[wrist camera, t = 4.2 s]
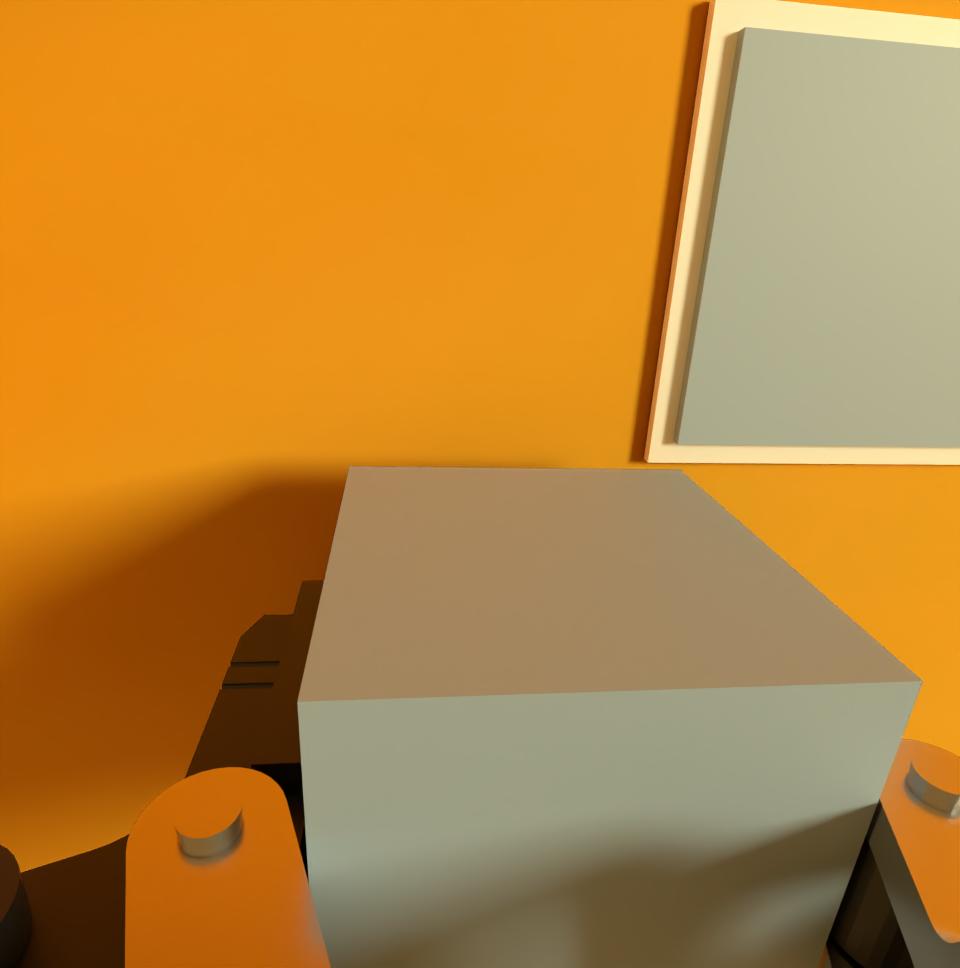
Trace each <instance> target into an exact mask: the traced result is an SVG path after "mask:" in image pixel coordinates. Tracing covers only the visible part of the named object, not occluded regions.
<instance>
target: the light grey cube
mask: <svg viewBox="0 0 960 968" xmlns="http://www.w3.org/2000/svg"><path fill="white" fill-rule="evenodd" d="M922 682H923V681H922V680H921V679H920V678H919V677H918V676H916V675H915V674H914V673H913V672H912V671H911V670H910V669H908V668H907V667H906V666H905V665H904V664H903V663H902V662H900V661H899V660H898V659H897V658H896V657H895V656H893V655H892V654H891V653H890V652H889V651H888V650H887V649H885V648H884V647H883V646H882V645H881V644H880V643H879V642H877V641H876V640H875V639H874V638H873V637H872V636H871V635H869V634H868V633H867V632H866V631H865V630H864V629H862V628H861V627H860V626H859V625H858V624H857V623H856V622H854V621H853V620H852V619H851V618H850V617H849V616H848V615H846V614H845V613H844V612H843V611H842V610H841V609H839V608H838V607H837V606H836V605H835V604H834V603H833V602H831V601H830V600H829V599H828V598H827V597H826V596H825V595H823V594H822V593H821V592H820V591H819V590H818V589H817V588H815V587H814V586H813V585H812V584H811V583H810V582H808V581H807V580H806V579H805V578H804V577H803V576H802V575H800V574H799V573H798V572H797V571H796V570H795V569H794V568H792V567H791V566H790V565H789V564H788V563H787V562H786V561H784V560H783V559H782V558H781V557H780V556H779V555H777V554H776V553H775V552H774V551H773V550H772V549H771V548H769V547H768V546H767V545H766V544H765V543H764V542H763V541H761V540H760V539H759V538H758V537H757V536H756V535H754V534H753V533H752V532H751V531H750V530H749V529H748V528H746V527H745V526H744V525H743V524H742V523H741V522H740V521H738V520H737V519H736V518H735V517H734V516H733V515H732V514H730V513H729V512H728V511H727V510H726V509H725V508H723V507H722V506H721V505H720V504H719V503H718V502H717V501H715V500H714V499H713V498H712V497H711V496H710V495H709V494H707V493H706V492H705V491H704V490H703V489H702V488H701V487H699V486H698V485H697V484H696V483H695V482H694V481H692V480H691V479H690V478H689V477H688V476H687V475H686V474H684V473H683V472H682V471H681V470H661V469H570V468H480V467H389V466H349V471H348V475H347V480H346V484H345V489H344V493H343V498H342V502H341V507H340V511H339V516H338V520H337V525H336V530H335V534H334V539H333V543H332V548H331V552H330V557H329V561H328V566H327V570H326V575H325V579H324V584H323V588H322V593H321V597H320V602H319V606H318V611H317V615H316V620H315V624H314V629H313V634H312V638H311V643H310V647H309V652H308V656H307V661H306V665H305V670H304V674H303V679H302V683H301V688H300V692H299V697H298V701H297V704H298V719H299V735H300V751H301V767H302V783H303V799H304V814H305V830H306V846H307V862H308V878H309V887H310V890H311V894H312V898H313V902H314V906H315V909H316V913H317V917H318V921H319V924H320V928H321V932H322V936H323V940H324V943H325V947H326V951H327V955H328V959H329V962H330V966H331V968H817V966H818V963H819V960H820V958H821V955H822V952H823V950H824V947H825V944H826V941H827V939H828V936H829V933H830V931H831V928H832V925H833V923H834V920H835V917H836V914H837V912H838V909H839V906H840V904H841V901H842V898H843V896H844V893H845V890H846V887H847V885H848V882H849V879H850V877H851V874H852V871H853V869H854V866H855V863H856V860H857V858H858V855H859V852H860V850H861V847H862V844H863V842H864V839H865V836H866V834H867V831H868V828H869V825H870V823H871V820H872V817H873V815H874V812H875V809H876V807H877V804H878V801H879V798H880V796H881V793H882V790H883V788H884V785H885V782H886V780H887V777H888V774H889V771H890V769H891V766H892V763H893V761H894V758H895V755H896V753H897V750H898V747H899V744H900V742H901V739H902V736H903V734H904V731H905V728H906V726H907V723H908V720H909V718H910V715H911V712H912V709H913V707H914V704H915V701H916V699H917V696H918V693H919V691H920V688H921V685H922Z"/></svg>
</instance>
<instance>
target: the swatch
mask: <svg viewBox="0 0 960 968" xmlns="http://www.w3.org/2000/svg"><path fill="white" fill-rule="evenodd" d="M644 460H645V461H647V462H648V463H783V464H936V465H960V20H958V19H949V18H939V17H930V16H920V15H911V14H901V13H891V12H882V11H872V10H863V9H853V8H844V7H834V6H825V5H815V4H806V3H796V2H787V1H777V0H710V3H709V10H708V17H707V24H706V31H705V38H704V44H703V51H702V58H701V65H700V72H699V79H698V86H697V93H696V100H695V107H694V114H693V121H692V128H691V135H690V142H689V149H688V156H687V162H686V169H685V176H684V183H683V190H682V197H681V204H680V211H679V218H678V225H677V232H676V239H675V246H674V253H673V260H672V267H671V274H670V280H669V287H668V294H667V301H666V308H665V315H664V322H663V329H662V336H661V343H660V350H659V357H658V364H657V371H656V378H655V385H654V392H653V398H652V405H651V412H650V419H649V426H648V433H647V440H646V447H645V454H644Z"/></svg>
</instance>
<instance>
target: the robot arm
mask: <svg viewBox="0 0 960 968" xmlns="http://www.w3.org/2000/svg"><path fill="white" fill-rule="evenodd" d="M323 584H324V580H320V581H303V582H302V585H301V589H300V592H299V596H298V599H297V603H296V606H295V610H294V613H293V615H264V616H263V617H262V618H261V619H260V620H258V621H257V622H256V623H255V624H254V625H253V626H252V627H251V628H250V629H249V630H248V631H246V632H245V633H244V634H243V635H242V636H241V638H240V640H239V643H238V645H237V648H236V650H235V653H234V655H233V658H232V660H231V667H229V668H228V670H227V673H226V676H225V678H224V681H223V683H222V690H220V691H219V693H218V696H217V698H216V701H215V703H214V706H213V708H212V711H211V713H210V716H209V719H208V721H207V724H206V726H205V729H204V731H203V734H202V736H201V739H200V741H199V744H198V746H197V749H196V751H195V754H194V757H193V759H192V762H191V764H190V767H189V769H188V772H187V774H186V777H185V779H183V780H181V781H179V782H177V783H175V784H174V785H172V786H171V787H169V788H167V789H166V790H165V791H163V792H162V793H161V794H160V795H158V796H157V797H156V798H155V799H154V800H153V801H152V802H151V803H150V804H149V805H148V806H147V807H146V808H145V809H144V810H143V812H142V813H141V814H140V815H139V817H138V818H137V820H136V822H135V823H134V825H133V827H132V829H131V832H130V834H128V835H127V836H125V837H123V838H121V839H119V840H117V841H115V842H113V843H111V844H108V845H106V846H103V847H100V848H97V849H95V850H92V851H89V852H85V853H82V854H79V855H76V856H73V857H70V858H66V859H63V860H60V861H57V862H54V863H51V864H47V865H44V866H41V867H38V868H35V869H31V870H28V871H25V872H22V873H21V872H20V869H19V866H18V863H17V861H16V859H15V857H14V855H13V854H12V853H11V852H10V851H9V850H8V849H7V848H5V847H3V846H1V845H0V968H331V966H330V962H329V959H328V955H327V951H326V947H325V943H324V940H323V936H322V932H321V928H320V924H319V921H318V917H317V913H316V909H315V906H314V902H313V898H312V894H311V890H310V887H309V878H308V862H307V846H306V830H305V814H304V799H303V783H302V767H301V751H300V735H299V719H298V704H297V701H298V697H299V692H300V688H301V683H302V679H303V674H304V670H305V665H306V661H307V656H308V652H309V647H310V643H311V638H312V634H313V629H314V624H315V620H316V615H317V611H318V606H319V602H320V597H321V593H322V588H323ZM817 968H960V757H959V756H957V755H955V754H953V753H951V752H949V751H946V750H944V749H942V748H939V747H937V746H934V745H931V744H928V743H924V742H920V741H916V740H910V739H901V742H900V744H899V747H898V750H897V753H896V755H895V758H894V761H893V763H892V766H891V769H890V771H889V774H888V777H887V780H886V782H885V785H884V788H883V790H882V793H881V796H880V798H879V801H878V804H877V807H876V809H875V812H874V815H873V817H872V820H871V823H870V825H869V828H868V831H867V834H866V836H865V839H864V842H863V844H862V847H861V850H860V852H859V855H858V858H857V860H856V863H855V866H854V869H853V871H852V874H851V877H850V879H849V882H848V885H847V887H846V890H845V893H844V896H843V898H842V901H841V904H840V906H839V909H838V912H837V914H836V917H835V920H834V923H833V925H832V928H831V931H830V933H829V936H828V939H827V941H826V944H825V947H824V950H823V952H822V955H821V958H820V960H819V963H818V966H817Z"/></svg>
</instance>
